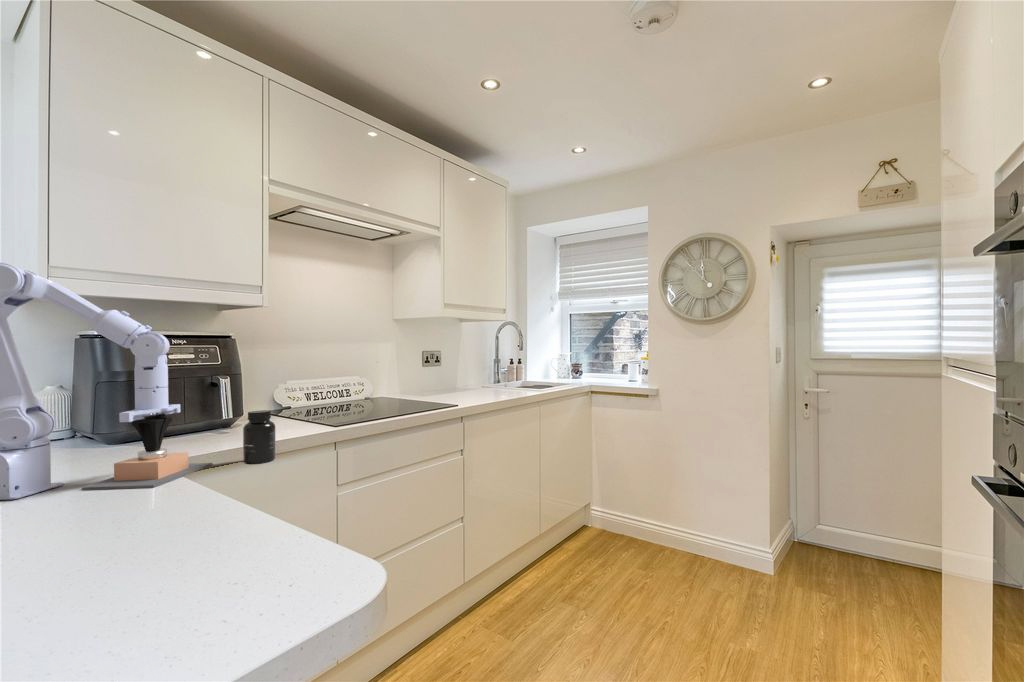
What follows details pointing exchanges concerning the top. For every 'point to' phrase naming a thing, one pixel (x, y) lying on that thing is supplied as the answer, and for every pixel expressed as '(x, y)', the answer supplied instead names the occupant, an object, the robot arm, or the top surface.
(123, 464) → the tan rectangular brick
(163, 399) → the robot arm
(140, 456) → the plunger
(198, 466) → the mat
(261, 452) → the supplement bottle
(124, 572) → the top surface
